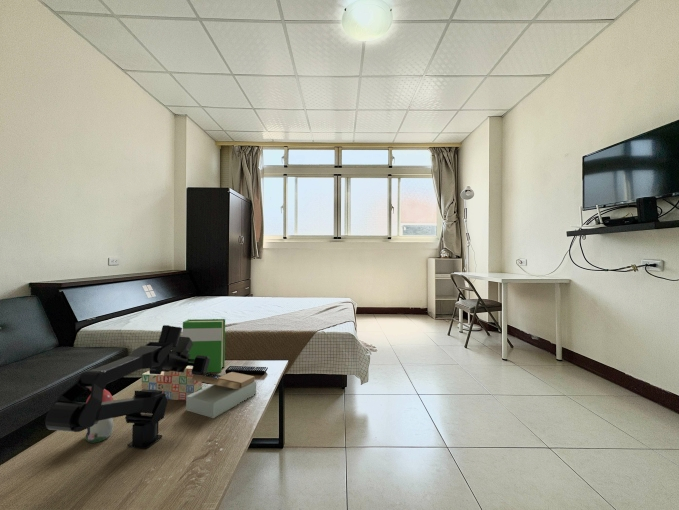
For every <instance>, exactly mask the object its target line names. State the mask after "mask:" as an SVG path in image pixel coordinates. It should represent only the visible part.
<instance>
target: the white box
mask: <svg viewBox="0 0 679 510" xmlns="http://www.w3.org/2000/svg"><path fill="white" fill-rule="evenodd" d="M255 377H256V376H254V375H249V374H245V373H239V372H235V371H231V372H228V373H226V374H223V375H221V376H219V377H217V379H221V380H225V381H230V382H235V383H239V384H240V386H239V389H234V388H229V387H224V386H218V385H214V384H209V385H208V386H206V387H203V388H202V389H201V390H199V391H197V392H195V393H192V394H190V395H188V396H186V400H185V402H186V403H185V406H186V407H185V408H186V409H185V411H188V412H191V413H194V414H199V415H201V416H205V417H208V418H212V419H214V418H216V417H218V416H220V415H221V414H224V413H225V412H227V411H228V410H230V409H232V408H233V407H236V406H238V405H240V404H241V403H243V402H244V400H245V401H247V400H248V399H250V398H251V396H252V397H253V396H255V395H257V381H256V380H255ZM254 394H255V395H254ZM249 397H250V398H249ZM247 398H248V399H247ZM242 401H243V402H242ZM240 402H241V403H240ZM237 404H238V405H237Z"/></svg>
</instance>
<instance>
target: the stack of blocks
mask: <svg viewBox="0 0 679 510" xmlns="http://www.w3.org/2000/svg"><path fill="white" fill-rule="evenodd" d="M192 368H193V366H187V367H186V368H185V370H184V373H183V372H173V371H169V372H163V371H162V372H161V374H160V375H159V374H150V373H149V370H147V371H146V372H144V373H142V374H141V390H143V389H146V390H160V391H163V392H162V393H165V394H166V398H167V400H177V401H186V396H188V395H190V394H192V393H195V392H197V391H199V390H201V389H203V387H202V386H203V382H201V381H196V380H192V377H193V374H192Z"/></svg>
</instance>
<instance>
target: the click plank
mask: <svg viewBox="0 0 679 510" xmlns="http://www.w3.org/2000/svg"><path fill="white" fill-rule="evenodd" d="M192 380H196V381H201V382H202V383H205V384H209V385H213V384H214V385H218V386H224V387H229V388H234V389H239V386H240V384H239V383H235V382H230V381H225V380H221V379H218V378H215V377H211V376H206V375H205V376H201V375H193V377H192Z"/></svg>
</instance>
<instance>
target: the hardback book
mask: <svg viewBox="0 0 679 510" xmlns="http://www.w3.org/2000/svg"><path fill="white" fill-rule="evenodd" d="M182 337H189V338H190V339H191V340H192V342H193V343H194V344H193V346H192V347H191V349H190V351H189V353H188V354H190V357H189V358H188V359H195V358H196V357H197V355H199V356H208V357H209V358H210V361H209V365H208V369H207V372H217V373H222V369H223V368H222V367H224V368H225V366H226V365H225V361H226V360H225V359H226V357H225V356H226V318H202V319H201V318H200V319H198V318H193V319H187V320H185V321H183V322H182ZM188 362H189V361H188ZM189 363H194V362H189Z"/></svg>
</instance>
